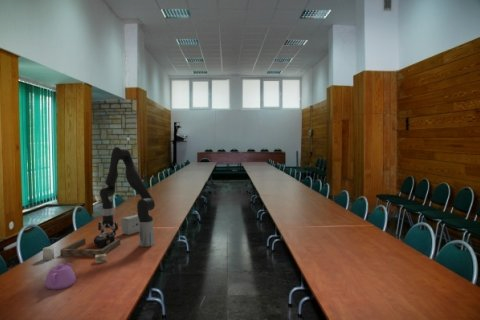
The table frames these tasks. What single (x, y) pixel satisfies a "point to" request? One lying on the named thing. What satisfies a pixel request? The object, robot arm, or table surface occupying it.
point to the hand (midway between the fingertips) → (108, 235)
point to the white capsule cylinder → (48, 253)
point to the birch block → (100, 258)
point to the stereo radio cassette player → (130, 224)
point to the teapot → (60, 277)
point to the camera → (104, 239)
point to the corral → (73, 250)
